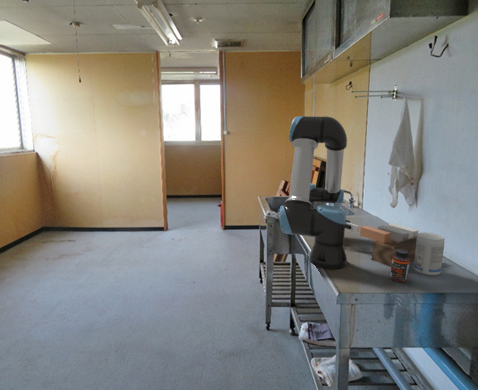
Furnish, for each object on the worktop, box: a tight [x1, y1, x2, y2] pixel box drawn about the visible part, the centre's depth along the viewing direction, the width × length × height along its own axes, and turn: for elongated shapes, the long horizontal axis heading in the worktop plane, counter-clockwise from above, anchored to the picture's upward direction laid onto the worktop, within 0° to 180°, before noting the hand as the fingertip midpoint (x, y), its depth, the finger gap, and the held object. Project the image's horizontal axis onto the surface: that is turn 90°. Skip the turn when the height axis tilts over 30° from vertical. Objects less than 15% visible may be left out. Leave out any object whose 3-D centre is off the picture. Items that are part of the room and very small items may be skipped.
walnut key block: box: [371, 237, 417, 268], centre depth 148 cm, size 10×21×10 cm, turn 123°
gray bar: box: [377, 225, 409, 242], centre depth 149 cm, size 12×4×4 cm, turn 33°
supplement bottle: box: [389, 249, 410, 283], centre depth 127 cm, size 6×6×11 cm
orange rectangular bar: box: [359, 225, 391, 243], centre depth 149 cm, size 12×4×4 cm, turn 33°
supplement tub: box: [413, 231, 446, 276], centre depth 135 cm, size 10×10×15 cm
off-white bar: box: [387, 223, 419, 239], centre depth 153 cm, size 12×4×4 cm, turn 33°
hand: (358, 228), depth 156 cm, fingers closed
